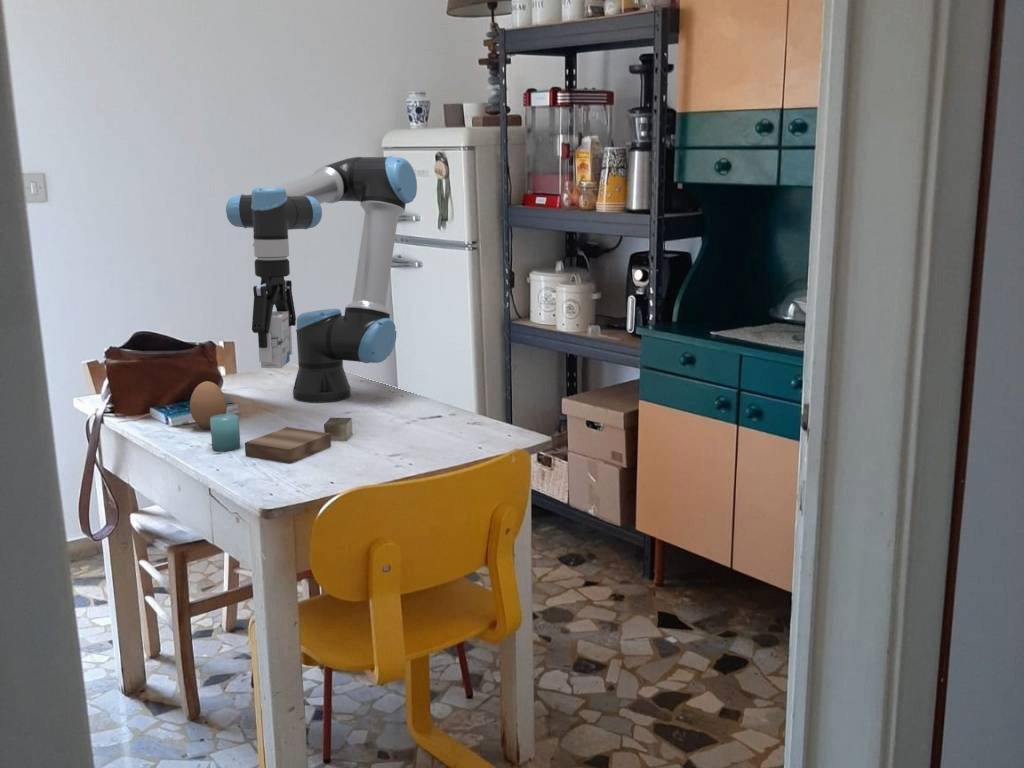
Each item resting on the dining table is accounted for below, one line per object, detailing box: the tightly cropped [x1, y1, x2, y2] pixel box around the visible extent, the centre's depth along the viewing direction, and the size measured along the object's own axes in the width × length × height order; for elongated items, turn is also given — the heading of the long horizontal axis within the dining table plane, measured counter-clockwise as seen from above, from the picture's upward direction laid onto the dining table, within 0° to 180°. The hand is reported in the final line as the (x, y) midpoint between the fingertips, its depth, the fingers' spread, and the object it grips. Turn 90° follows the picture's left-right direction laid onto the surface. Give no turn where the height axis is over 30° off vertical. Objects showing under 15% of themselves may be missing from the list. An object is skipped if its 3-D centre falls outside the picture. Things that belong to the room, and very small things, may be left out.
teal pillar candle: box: [210, 413, 241, 453], centre depth 215 cm, size 6×6×7 cm
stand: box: [244, 426, 332, 464], centre depth 213 cm, size 14×12×3 cm
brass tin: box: [323, 417, 353, 442], centre depth 224 cm, size 6×5×4 cm
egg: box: [189, 380, 228, 430], centre depth 231 cm, size 8×8×11 cm
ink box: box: [260, 310, 291, 369], centre depth 222 cm, size 9×5×12 cm, turn 1°
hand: (276, 357), depth 222 cm, fingers closed on ink box, 9 cm apart
